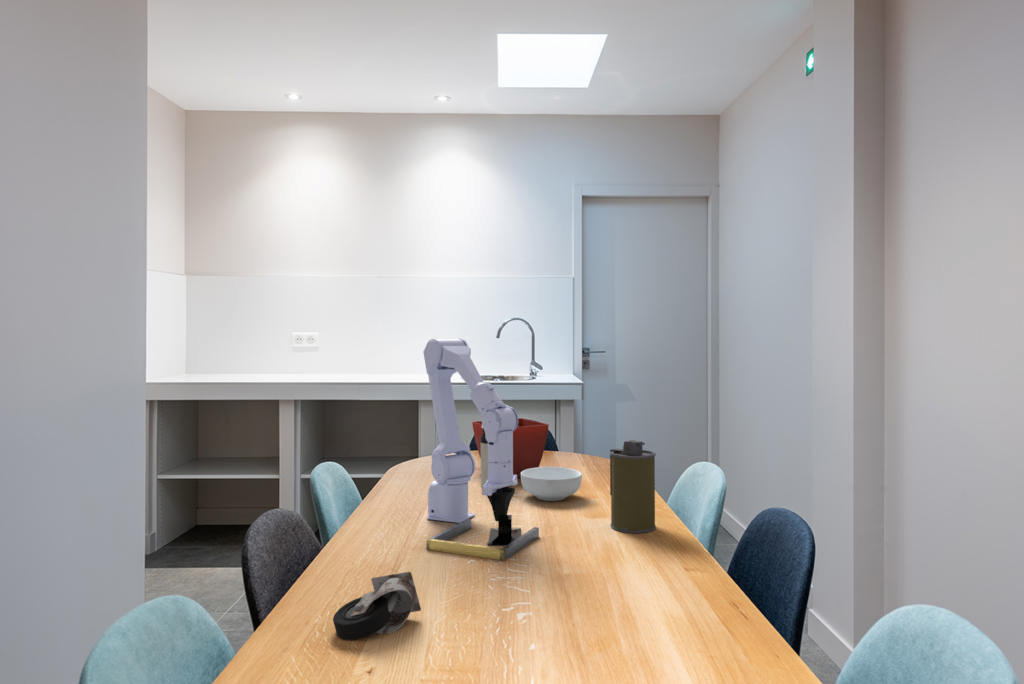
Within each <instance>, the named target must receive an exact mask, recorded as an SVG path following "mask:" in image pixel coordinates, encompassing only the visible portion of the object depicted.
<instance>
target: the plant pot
mask: <svg viewBox="0 0 1024 684" xmlns="http://www.w3.org/2000/svg"><path fill="white" fill-rule="evenodd" d="M471 423H472V431H473V435H474V441H475V444H476V448H477V451H478V455H479V457H480V459H481V435H482V433H483V429H482V427H481V426H482V420H478V421H472V422H471ZM548 433H549V423H544V422H541V421H537V420H532V419H527V418H522V417H520V418H519V417H518V426H517V428H516V430H515V431H513V475H517V478H521V472H522V471H523V470H526V469H530V468H536V467H540V464H541V462H542V458H543V455H544V452H545V446H546V443H547V439H548Z"/></svg>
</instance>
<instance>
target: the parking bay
mask: <svg viewBox="0 0 1024 684" xmlns="http://www.w3.org/2000/svg"><path fill="white" fill-rule="evenodd" d="M471 528H472V519H470V518H469V519H466V520H464V521H462V522H460V523H456V524H455V525H452V526H451V527H447V528H446V529H445V530H443V531H441V532H438V533H436V534H435V535H433V536H431V537H429V538H427V539H426V541H425V544H426V545H425V548H426V550H430V551H434V552H435V551H437V552H443V553H449V554H457V555H462V556H470V557H471V556H472V557H476V558H484V559H491V560H498V561H504V562H505V561H506V560H508V559H509V558H510V557H512V556H513V555H514V554H516V553H517V552H519V551H520V550H522V549H523V548H524V547H526V546H528V544H530V543H532V542H533V541H534V540H536V539H537V538H539V537H540V533H539V532H540V529H539V527H536V526H534V527H532V528H530V529H529V530H528V531H526V532H525V533H523V534H521V536H520V537H519V538H517V539H516V540H514V541H513V542H511V543H510V544H508V545H507V546H502V547H501V548H500V547H496V546H488V545H486V546H485V545H478V544H471V543H465V542H458V541H451V539H453V538H455V537H457V536H459V535H461V534H463V533H464V532H466V531H468V530H470V529H471Z"/></svg>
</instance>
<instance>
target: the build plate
mask: <svg viewBox="0 0 1024 684" xmlns="http://www.w3.org/2000/svg"><path fill="white" fill-rule="evenodd" d="M512 516H513V515H512V514H507V515H499V518H498V521H497V523H498V525H497V528H496V527H493V528H492V527H491V528H490V530H489V535H488V542H486V546H487V547H505V546H507V545H508V544H510V543H511V542H513V541H514V540H516V539H517V538H519V537H520V536H522V529H521V528H517V527H516V528H515V527H514V528H513V527H512V525H513V524H512V521H513V518H512Z"/></svg>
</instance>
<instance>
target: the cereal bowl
mask: <svg viewBox="0 0 1024 684" xmlns="http://www.w3.org/2000/svg"><path fill="white" fill-rule="evenodd" d="M582 479H583V474H582V472H581V471H579V470H578V469H575V468H569V467H561V466H539V467H536V468H530V469H526V470H523V471H522V472H521V477H520V482H521V483H520V484H521V486H522V488H523V490H524V491H525V492H526V493H529V494H530V495H531V496H534V497H536V498H537V500H541V501H549V502H556V501H558V502H559V501H562V500H565V499H566V498H567V497H570V496H573V495H574V494H576V493H577V492H578V491H579V489H580V487H581V485H582Z"/></svg>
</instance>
